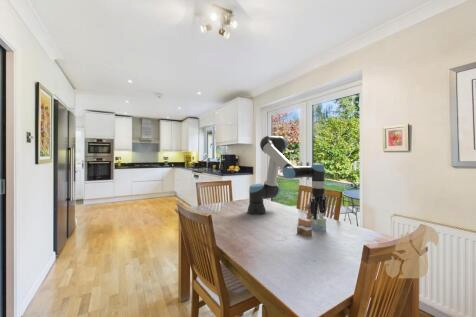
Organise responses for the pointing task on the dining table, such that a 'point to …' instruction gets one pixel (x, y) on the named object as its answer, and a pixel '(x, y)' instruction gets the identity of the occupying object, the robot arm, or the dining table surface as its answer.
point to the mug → (309, 211)
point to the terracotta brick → (304, 222)
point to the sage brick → (320, 221)
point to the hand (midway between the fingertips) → (318, 223)
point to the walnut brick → (304, 231)
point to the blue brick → (318, 227)
